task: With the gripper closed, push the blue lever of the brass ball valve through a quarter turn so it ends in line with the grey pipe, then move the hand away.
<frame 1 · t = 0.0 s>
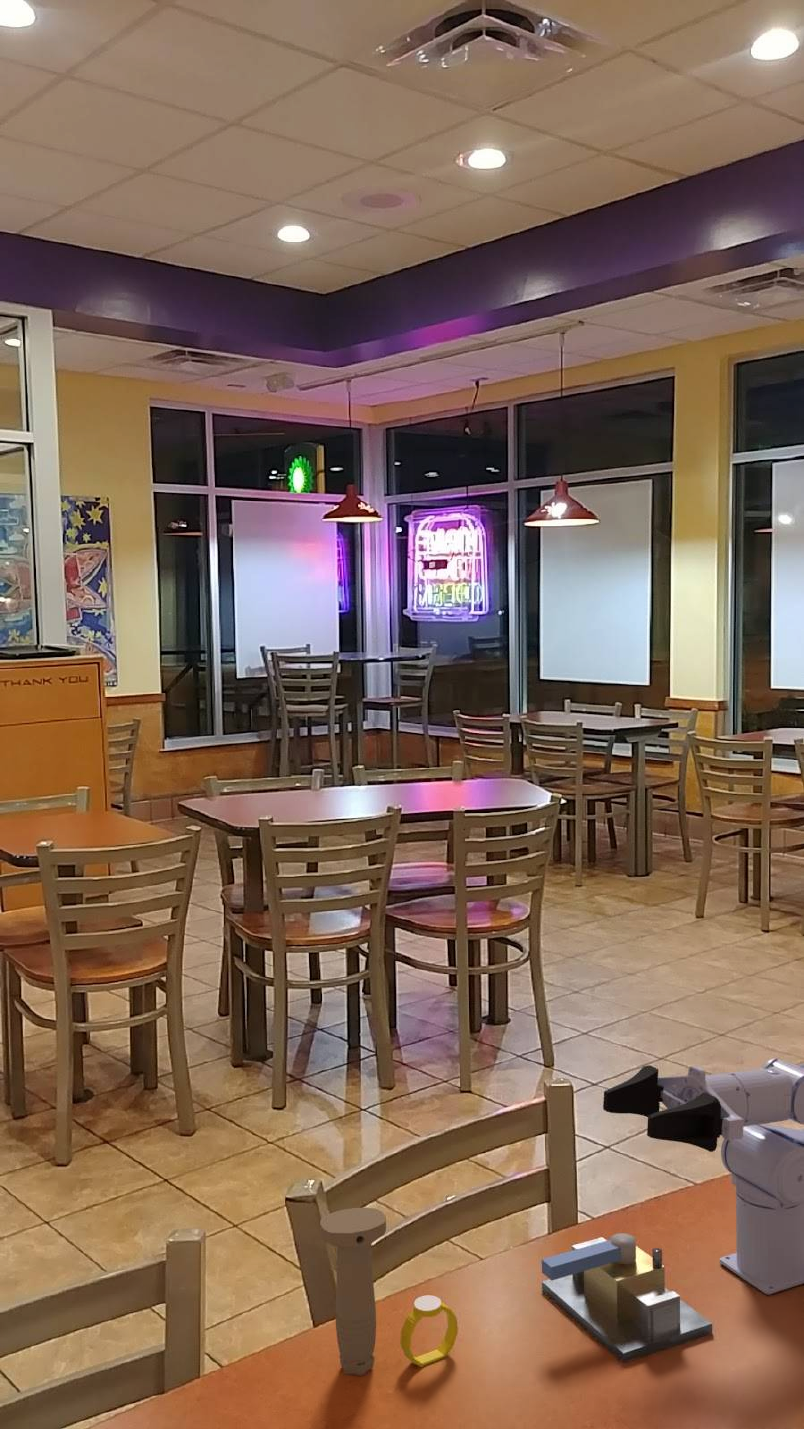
hand: (626, 1113, 126), 22 cm above the table, tool horizontal, fingers open, 7 cm apart
lever: (590, 1257, 126), point 7 cm above the table, hinge at 0.0°
watch: (430, 1361, 121), on the table
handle: (357, 1369, 120), on the table
valve: (624, 1310, 128), on the table
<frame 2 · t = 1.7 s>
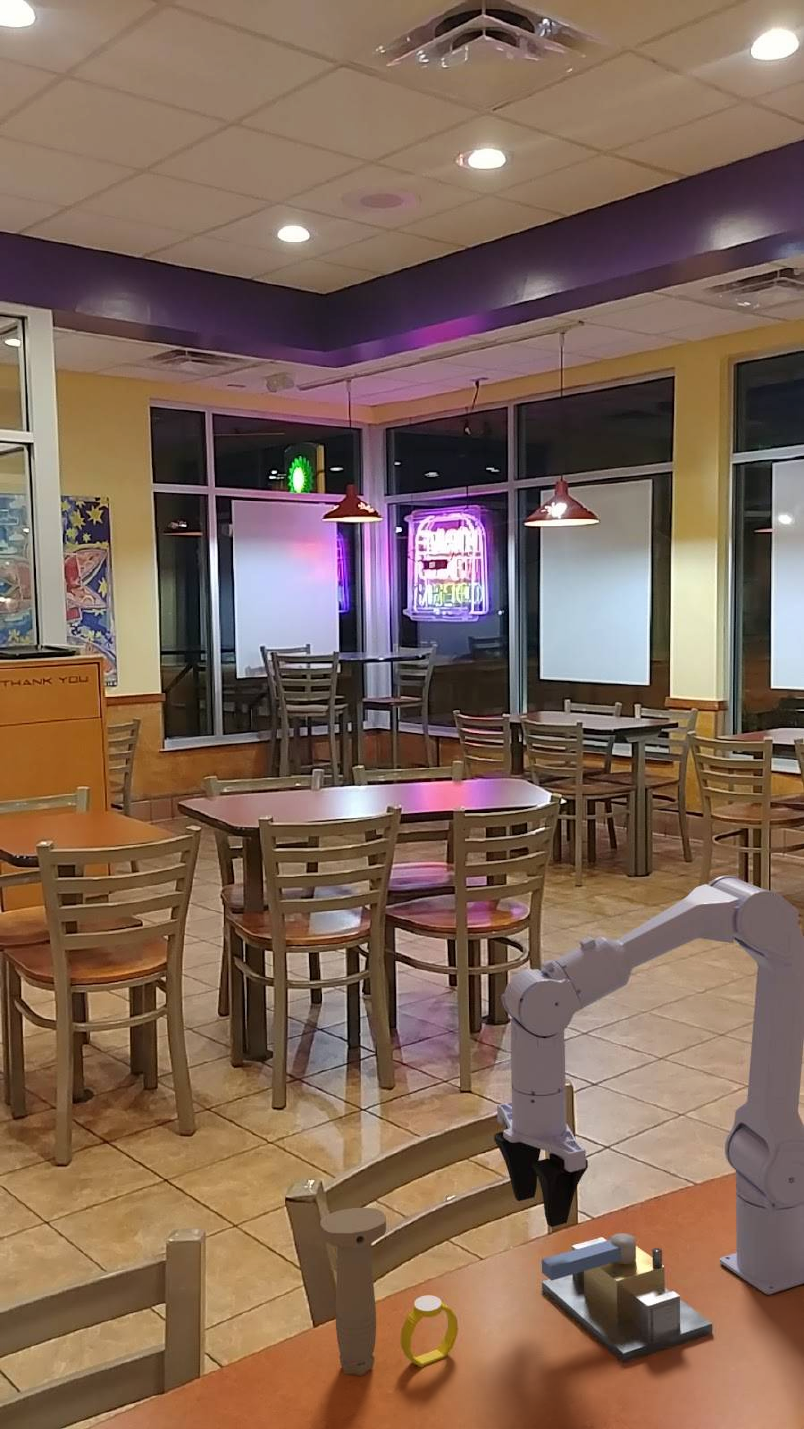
hand: (540, 1210, 129), 10 cm above the table, tool pointing down, fingers open, 6 cm apart
nothing on the table moved.
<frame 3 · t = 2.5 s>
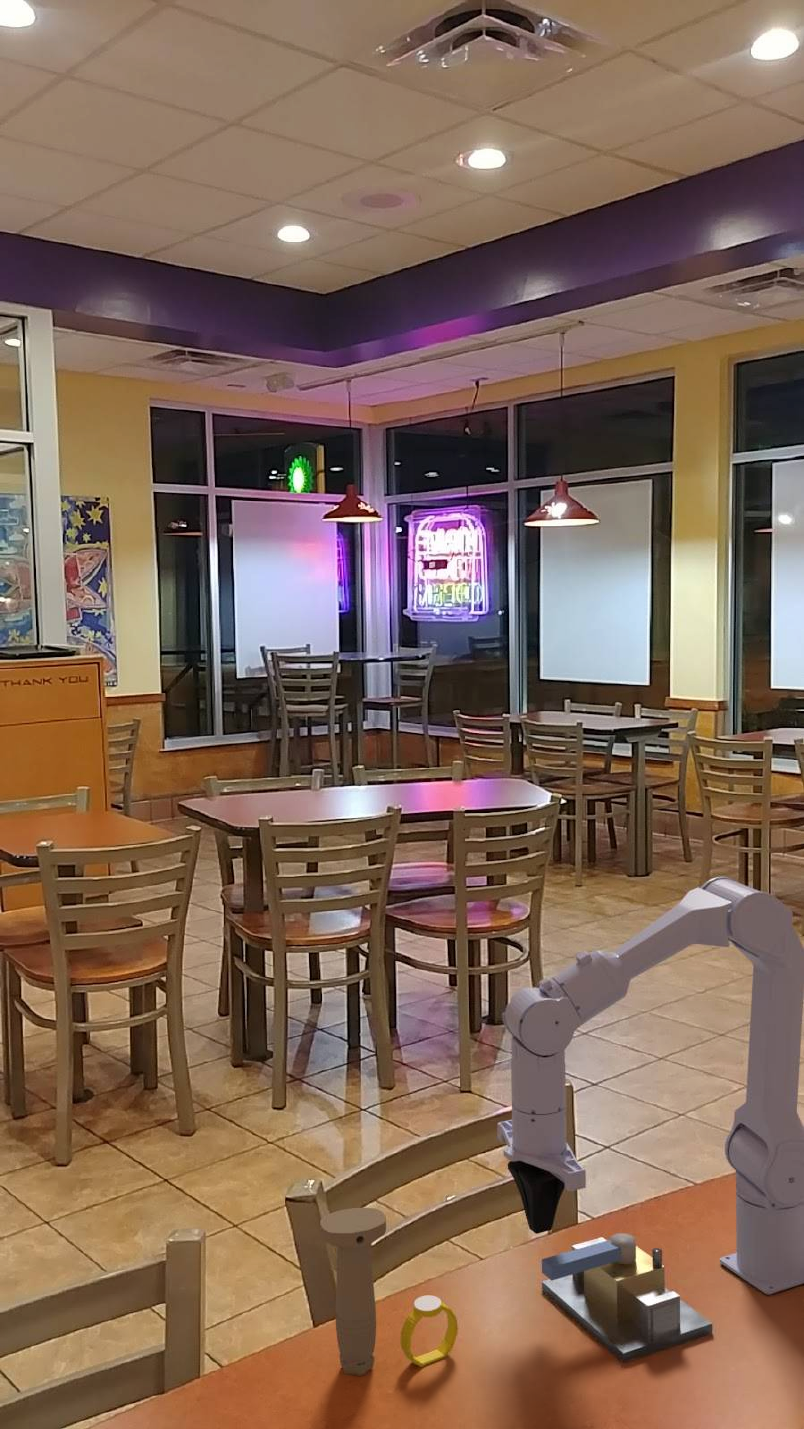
hand: (540, 1229, 129), 8 cm above the table, tool pointing down, fingers closed
nothing on the table moved.
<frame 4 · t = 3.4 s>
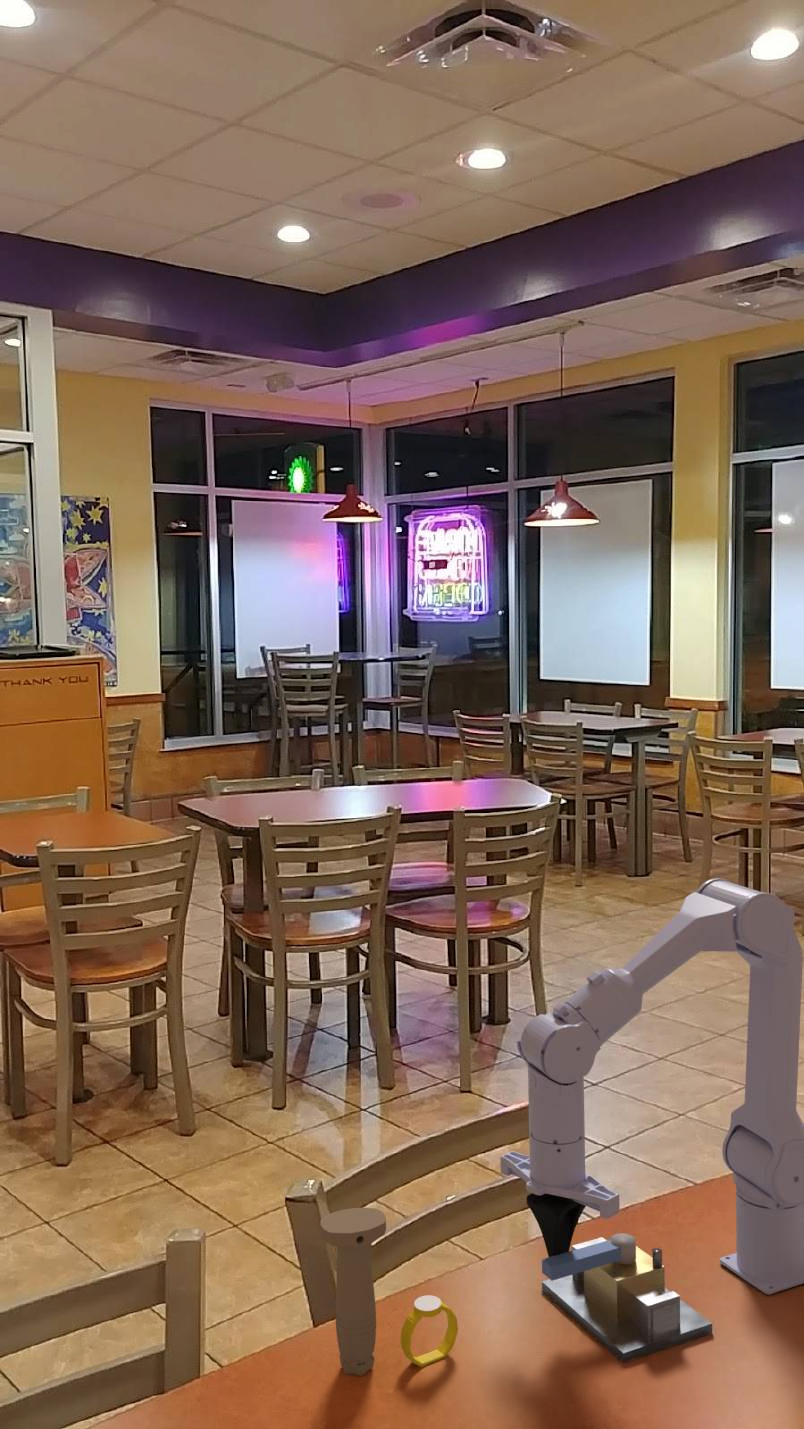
hand: (559, 1260, 127), 6 cm above the table, tool pointing down, fingers closed, pressing on lever
lever: (590, 1257, 126), point 7 cm above the table, hinge at 0.2°, touching gripper
everything else where it was.
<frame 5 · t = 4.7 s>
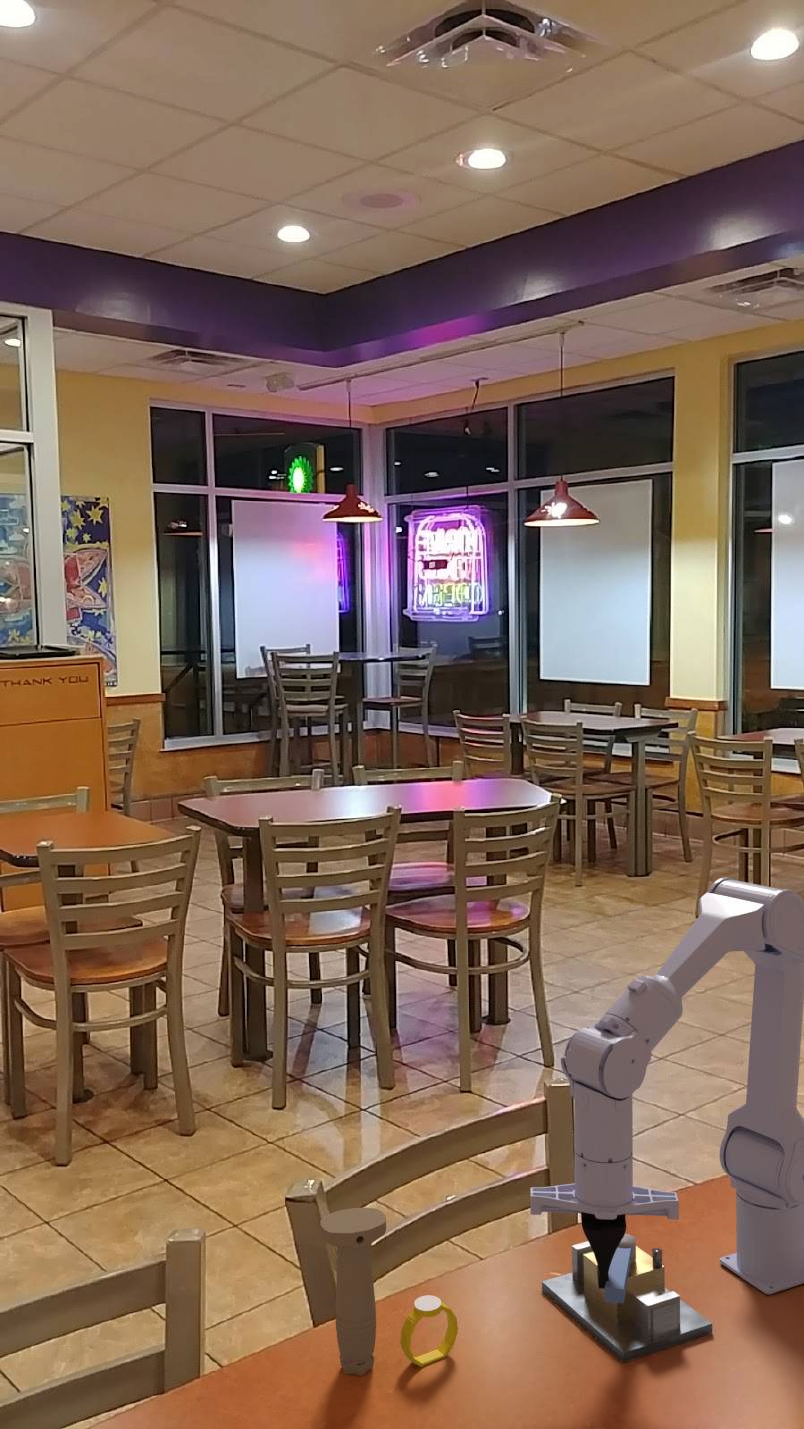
hand: (603, 1283, 122), 7 cm above the table, tool pointing down, fingers closed, pressing on lever
lever: (619, 1268, 124), point 7 cm above the table, hinge at 49.0°, touching gripper
everything else where it was.
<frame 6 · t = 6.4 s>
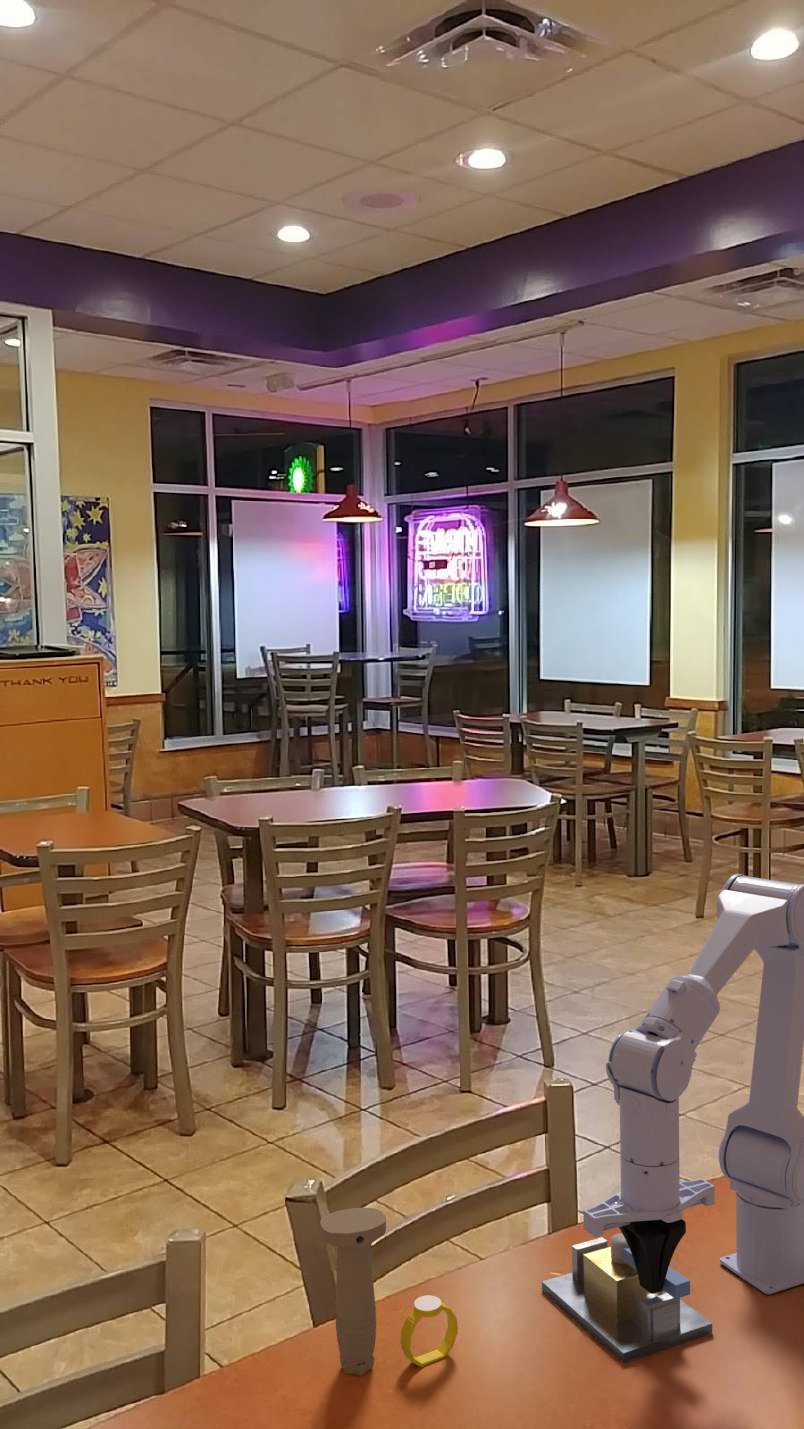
hand: (651, 1287, 121), 7 cm above the table, tool pointing down, fingers closed
lever: (648, 1266, 124), point 7 cm above the table, hinge at 91.6°
everything else where it was.
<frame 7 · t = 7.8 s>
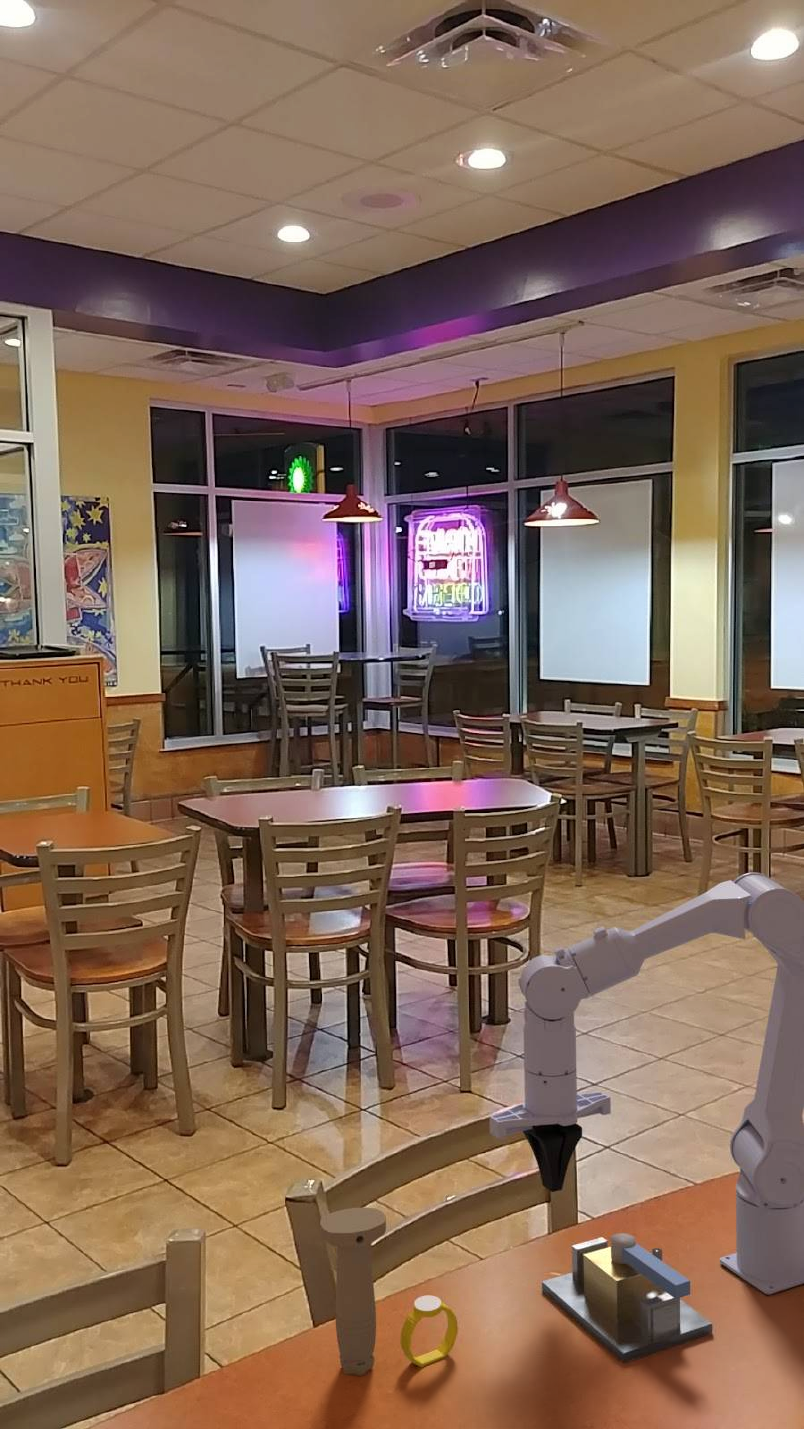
hand: (552, 1187, 135), 10 cm above the table, tool pointing down, fingers closed
nothing on the table moved.
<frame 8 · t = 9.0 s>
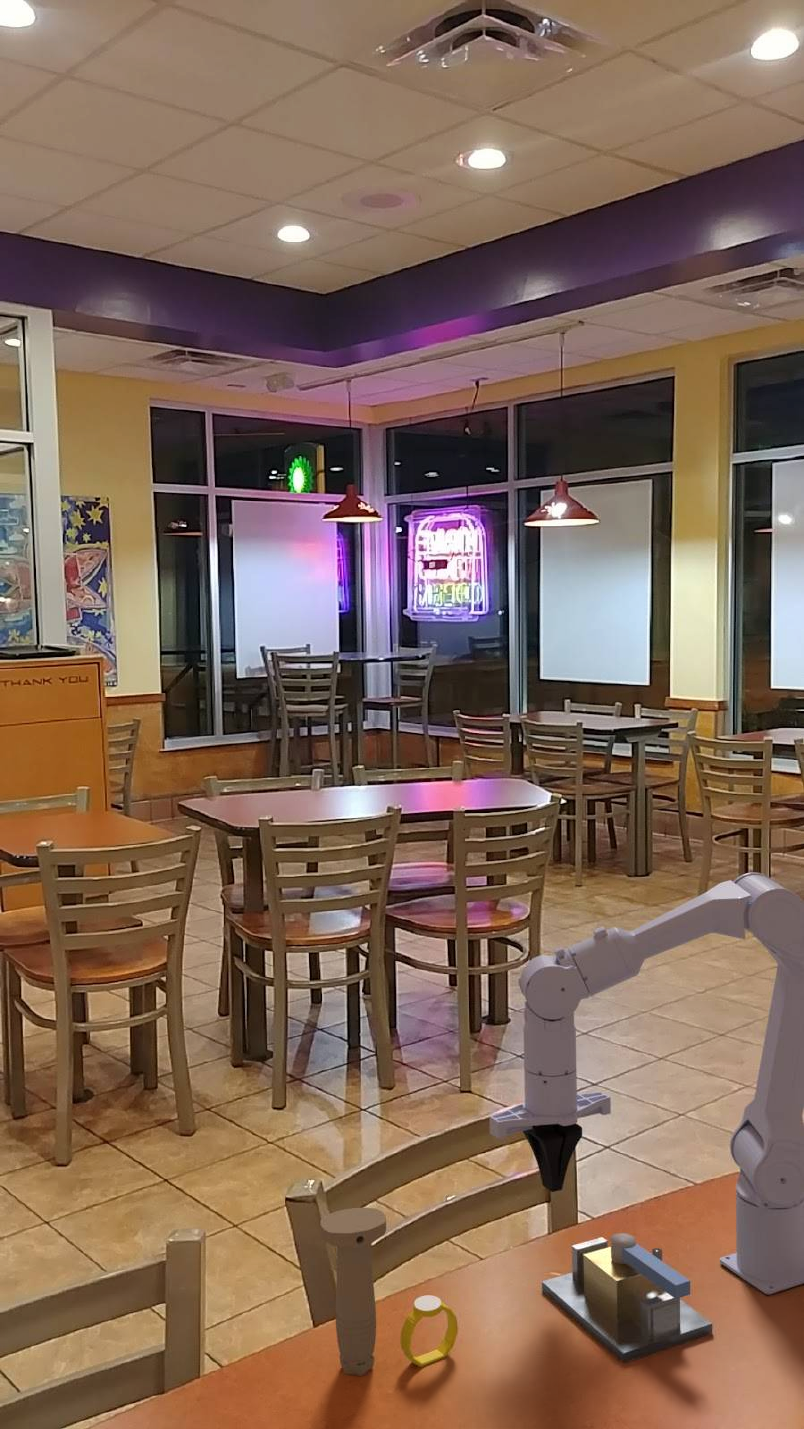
hand: (552, 1187, 135), 10 cm above the table, tool pointing down, fingers closed
nothing on the table moved.
at the end: lever at +92° (first picture: +0°) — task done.
